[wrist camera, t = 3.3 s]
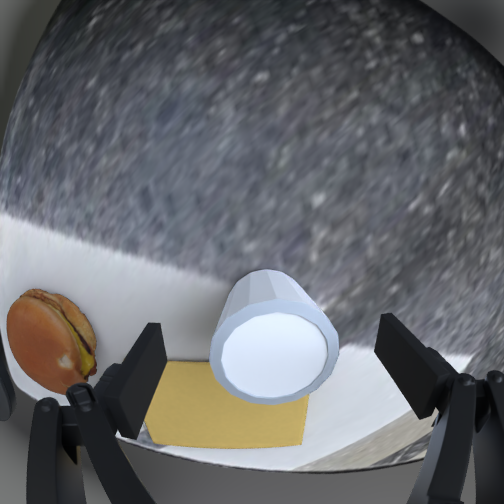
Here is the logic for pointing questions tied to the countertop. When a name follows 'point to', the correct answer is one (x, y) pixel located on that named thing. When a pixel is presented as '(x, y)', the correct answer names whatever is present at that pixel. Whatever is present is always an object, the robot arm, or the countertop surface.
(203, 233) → the countertop surface
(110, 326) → the countertop surface
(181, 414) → the cloth
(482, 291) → the countertop surface
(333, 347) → the shot glass
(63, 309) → the burger
